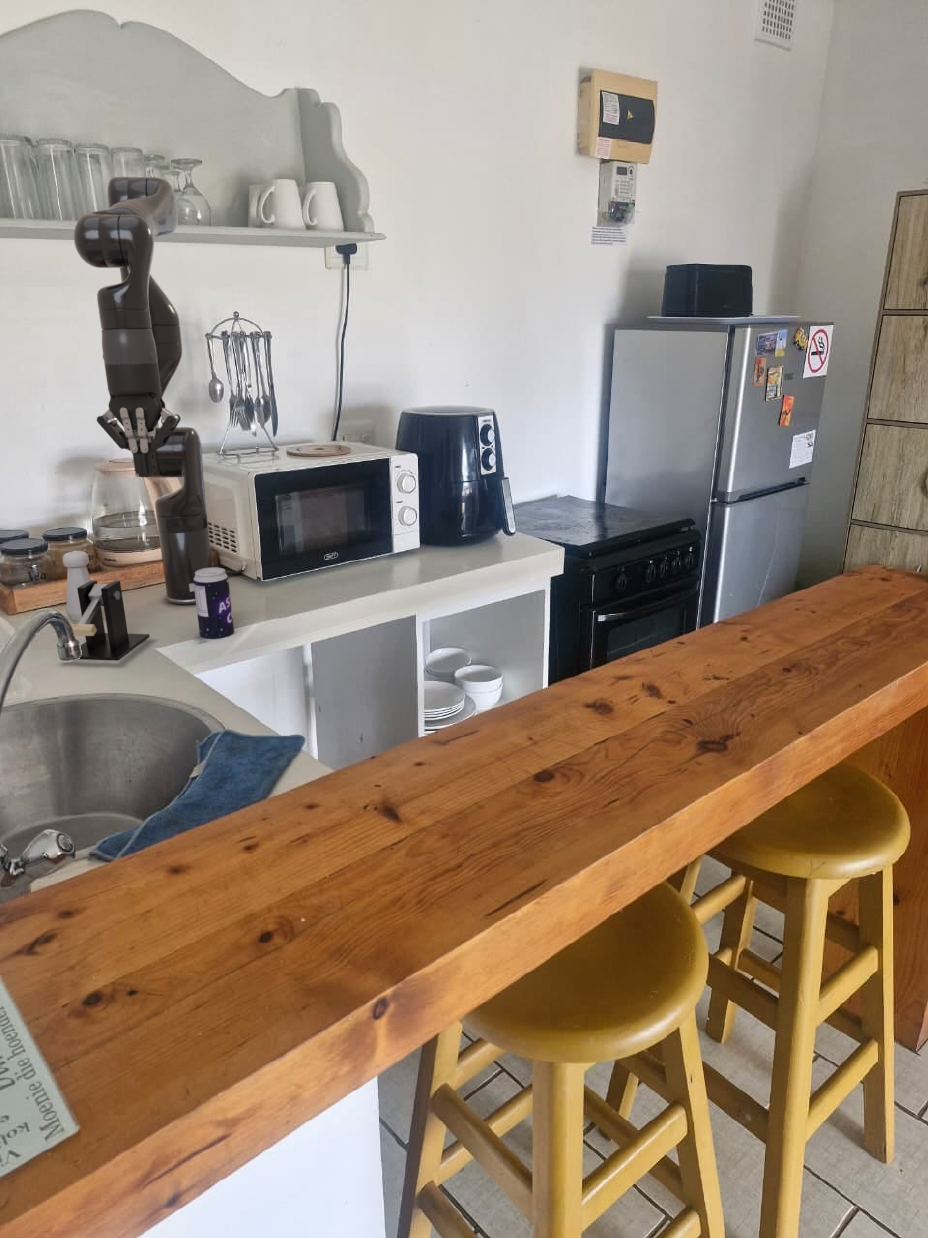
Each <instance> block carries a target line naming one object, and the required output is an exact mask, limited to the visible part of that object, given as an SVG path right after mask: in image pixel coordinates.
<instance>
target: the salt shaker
mask: <svg viewBox="0 0 928 1238" xmlns="http://www.w3.org/2000/svg"><path fill="white" fill-rule="evenodd" d="M89 563H90V557H89V554H88V553H87V552H86V551H82V550H73V551H69V552H66V553H64V555H63V556H62V564H63V566H64V567H66V568H67V575H66V576H67V578H66V579H67V580H66V606H65V607H66V610H65V612H66V614H67V616H68V617H69V619H70V620H72V621H77V622H79V621H80V620H81V618H82V614H81V608H80V602H79V596H78V590H77V588H78V587H80V586H82V585H84V584H86V583H88V582H89V581H91V580H92V579H91V577H90V573H89V570H88V568H87V565H89Z"/></svg>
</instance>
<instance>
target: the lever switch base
mask: <svg viewBox="0 0 928 1238" xmlns="http://www.w3.org/2000/svg"><path fill="white" fill-rule="evenodd" d="M95 584H98V580H95V579H94V580H92V579H91V581H89V582H88V583H86V584H84V585H82V586H80V587H78V588H77V590H78V596H79V602H80V608H81V614H82V616H83V615H84V613H85V611H86V610H87V608H88V606H89V604H90V603H91V600H90V598H89V596H88V595H89V593H90V591H91V590H92V588H93V586H94V585H95ZM107 584H108V585H106V586H105V587H103V588H101V592H102V599H103V605H104V606H103V612H104V616H103V612H102V606H99V608H98V610H97V612H96V613H95V615H94V617H93V618H92V620H91V622H90V624H94V625H95V627H96V629H97V631H96V633H95V635H94V636H84V637H85V642H84V643H82V644H80V646H81V650H82V655H81V657H80V659H79V660H86V661H87V660H88V661H89V660H90V661H120V660H121V659H123V658H124V657H125V656H126V655H128V654H129V653H130V652H132V651H133V650H134V649H136V648H137V647H139V646H140V645H141V644H142V643H144V642H145V641H147V640H148V639H149V638H150V634H149V633H129V632H128V631H129V630H128V625H127V618H126V613H125V605H124V599H123V598H124V597H123V594H122V593H123V592H122V586H121V585H122V584H121V580H113V581H112V582H110V583H107ZM103 617H105V618H103ZM104 619H105V622H104ZM105 625H106V630H107V632H106V630H105Z"/></svg>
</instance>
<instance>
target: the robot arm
mask: <svg viewBox="0 0 928 1238" xmlns="http://www.w3.org/2000/svg"><path fill="white" fill-rule="evenodd" d="M107 203H108V205H107V206H108V209H103V210H96V211H91V212H87V213H85V214H83V215H81V217H79V219H78V220H77V222H76V224H75V227H74V232H73V242H74V246H75V249H76V251H77V254H78V255H79V257H80V259H82V261H83V262H85V263H86V264H87V265H89V266H91V267H94V268H97V269H98V268H99V269H119V272H120V280H121V282H119V283H116V284H110V285H106V286H103V287H101V288H99V289H98V290H97V293H96V301H97V309H98V315H99V316H98V317H99V321H100V328H101V349H102V359H103V365H104V370H105V377H106V384H107V385H106V386H107V390H108V394H109V396H110V398H109V402H108V409H107V411H105V412H104V413H103V414H101V415H99V416H97V417H96V422H97V423H98V425H99V426H100V427H101V428H102V430H104V431H105V433H106V434H107V435H108V436H109V438H111V439H112V441H113V442H114V443H115V444H116V445H117V446H118V447H119V448H120V449H121V450H128V451H129V452H130V453H131V454H132V458H133V467H134V471H135V473H136V474H138V477H139V478H155V479H158V478H159V479H160V478H161V479H162V478H166V479H167V478H183V481H182V482H183V483H182V486H180V487H178V489H176V490H173V491H171V492H169V493H167V494H164V495H161V496H159V497H158V498H157V499H156V500H155V502H154V507H155V515H156V516H155V517H156V521H157V522H156V523H157V530H158V531H157V532H158V537H159V544H160V553H161V560H162V568H163V576H164V584H165V592H166V594H165V595H166V601H167V602H168V603H169V604H174V605H196V598H195V590H194V581H193V580H194V577H195V572H196V571H198V570H200V569H204V568H216V563H213V556H212V548H211V540H210V531H209V524H208V523H209V522H208V514H207V512H208V511H207V505H206V504H207V503H206V491H205V480H204V464H203V461H204V460H203V447H202V442H201V437H200V434H199V432H198V431H197V430H196V429H195V428H193V427H190V426H178V425H179V424H180V422H181V416H180V414H178V413H177V414H175V413H172V412H171V411H170V410H168V409H167V407H166V403H165V401H164V399H163V397H164V395H165V392H166V391H167V388H168V387H169V384H170V382H171V380H172V379H173V377H174V375H175V373H176V371H177V369H178V367H179V365H180V363H181V359H182V355H183V341H182V331H181V323H180V322H181V321H180V316H179V314H178V311H177V310H176V308H175V306H174V305H173V303H172V301H171V300H170V299H169V297H168V296H167V294H166V293H165V292H164V290H163V289H162V288H161V286H159V284H158V283H157V281H156V279H154V277H153V276H152V274H151V269H152V263H153V258H154V249H155V239H157V238H159V237H161V236H162V237H163V236H167V235H171V234H173V233H174V232H175V231H176V229H177V227H178V224H179V206H178V201H177V196H176V192H175V190H174V188H173V185H172V184H171V183H170V182H169V181H168V180H166V179H164V178H161V177H155V176H114V177H111V178H110V179H109V181H108V184H107ZM159 421H160V423H161V426H159ZM118 422H119V423H118ZM120 425H121V426H122V427H123V428H122V427H121V426H120ZM225 573H226V575H227V576H235V575H239V574H242V573H244V571H243V570H242V568H239V570H233V571H225Z"/></svg>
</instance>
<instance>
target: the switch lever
mask: <svg viewBox="0 0 928 1238" xmlns="http://www.w3.org/2000/svg"><path fill="white" fill-rule="evenodd" d="M108 584H109V583H97V584H95V585H94V586H93V588H92V590H91V591H90V593H89V595H88V596H89V598H90V600H91V603H90V604H89V606H88V608H87V610H86V611H85V613H84V615H83V616H82V618H81V620H80V621H78V622H77V623H70V624H71V625H72V628H73V630H74V633H75V635H76V636H80V637H85V636H94V635H95V633H96V631H97V629H96V627H95V625H94V624H90V622H91V620H92V618H93V617H94V615H95V613H96V612H97V610H98V608H99V606H101V607H104V605H103V599H102V592H101V588H103V587H105V586H106V585H108Z"/></svg>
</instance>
